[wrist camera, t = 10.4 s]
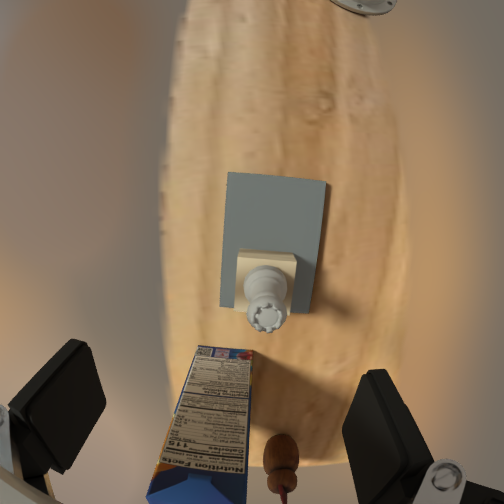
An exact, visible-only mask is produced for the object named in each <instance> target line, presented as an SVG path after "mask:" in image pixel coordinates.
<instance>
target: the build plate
mask: <svg viewBox="0 0 504 504" xmlns="http://www.w3.org/2000/svg"><path fill="white" fill-rule="evenodd" d="M325 188H326V181H318V180H310V179H302V178H293V177H283V176H273V175H262V174H250V173H236V172H228V178H227V191H226V204H225V219H224V234H223V250H222V268H221V287H220V307H229V308H234V301H235V286H236V272H237V257H238V254H239V250H240V248H243V249H255V250H267V251H279V252H290V253H293V255H294V257H295V259H296V261H297V264H296V272H295V280H294V287H293V294H292V302H291V309H290V312H292V313H309V308H310V302H311V296H312V290H313V284H314V277H315V270H316V263H317V256H318V249H319V241H320V233H321V225H322V216H323V207H324V198H325Z"/></svg>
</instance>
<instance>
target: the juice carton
mask: <svg viewBox="0 0 504 504" xmlns="http://www.w3.org/2000/svg"><path fill="white" fill-rule="evenodd" d="M252 363H253V350H245V349H232V348H220V347H210V346H201V345H198V347H197V350H196V353H195V356H194V358H193V361H192V364H191V367H190V370H189V372H188V375H187V378H186V381H185V384H184V386H183V389H182V392H181V395H180V398H179V401H178V403H177V406H176V409H175V412H174V415H173V418H172V421H171V424H170V426H169V429H168V432H167V435H166V438H165V441H164V444H163V447H162V450H161V453H160V456H159V459H158V462H157V465H156V468H155V471H154V474H153V477H152V480H151V483H150V486H149V489H148V492H147V495H146V499H147V500H148V502H149V504H246V497H247V476H248V455H249V433H250V411H251V387H252Z"/></svg>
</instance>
